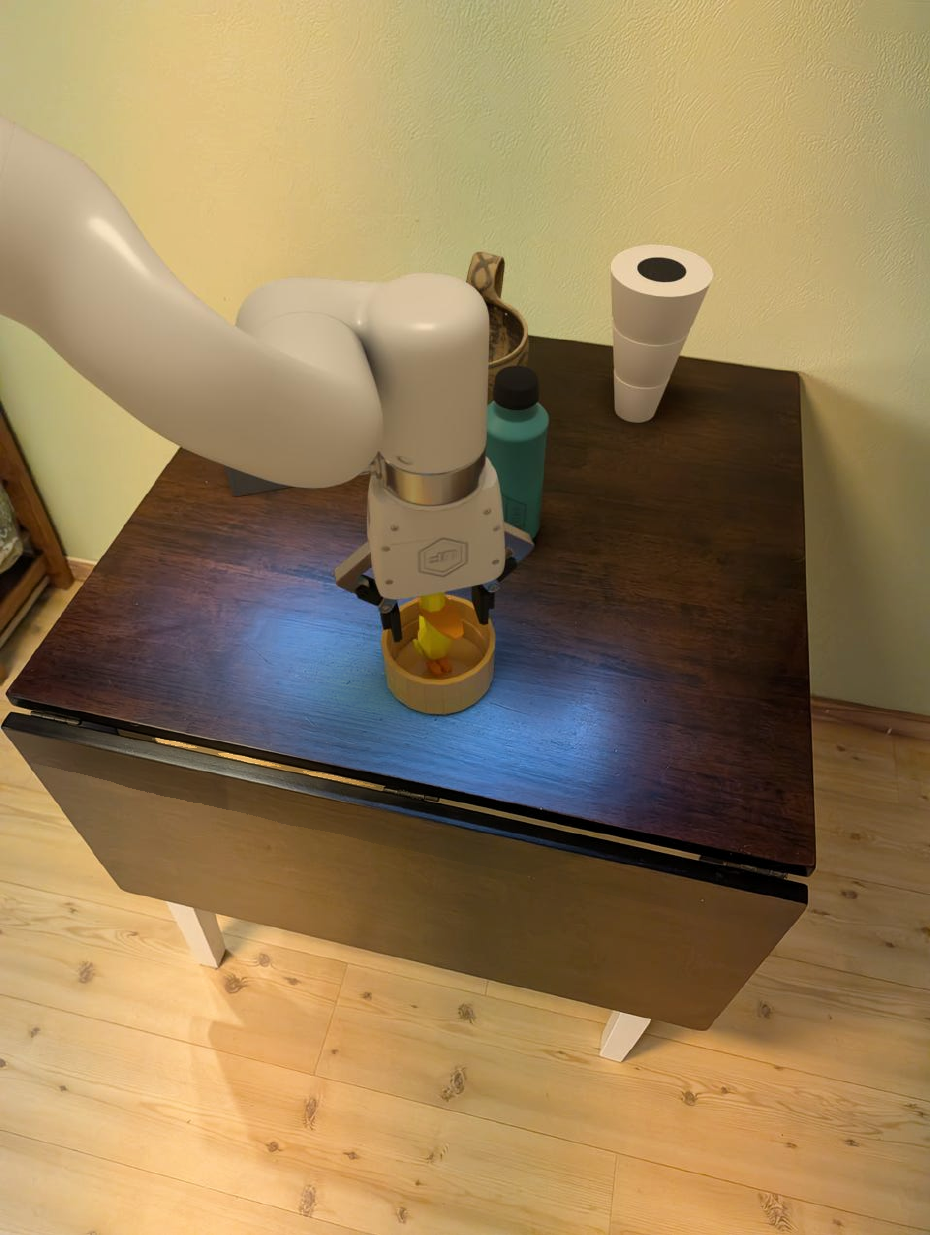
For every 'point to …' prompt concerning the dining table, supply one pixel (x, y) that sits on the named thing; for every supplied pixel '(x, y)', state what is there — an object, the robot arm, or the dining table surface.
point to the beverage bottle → (518, 445)
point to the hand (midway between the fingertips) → (437, 619)
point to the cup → (652, 321)
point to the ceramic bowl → (498, 317)
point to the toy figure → (437, 631)
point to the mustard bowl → (411, 669)
